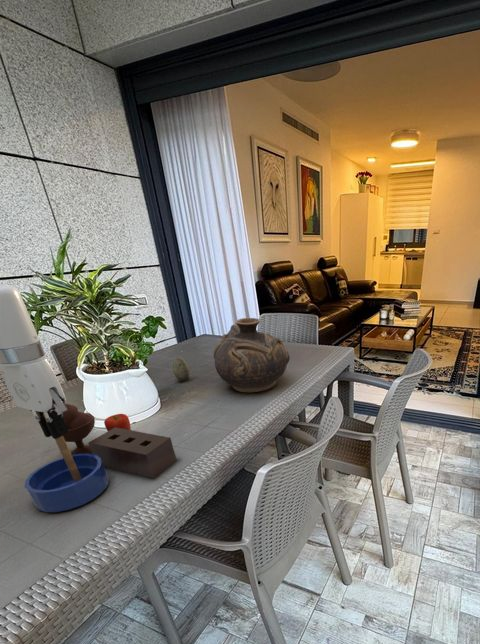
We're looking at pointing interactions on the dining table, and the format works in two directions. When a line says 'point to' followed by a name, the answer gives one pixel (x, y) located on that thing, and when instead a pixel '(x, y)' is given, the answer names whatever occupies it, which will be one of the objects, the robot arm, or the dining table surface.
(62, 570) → the dining table surface
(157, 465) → the block
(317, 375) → the dining table surface
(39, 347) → the robot arm
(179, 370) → the decorative egg
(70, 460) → the cooking stick
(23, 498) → the dining table surface
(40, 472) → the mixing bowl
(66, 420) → the ice cream bowl
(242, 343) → the vessel
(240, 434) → the dining table surface
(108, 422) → the apple
